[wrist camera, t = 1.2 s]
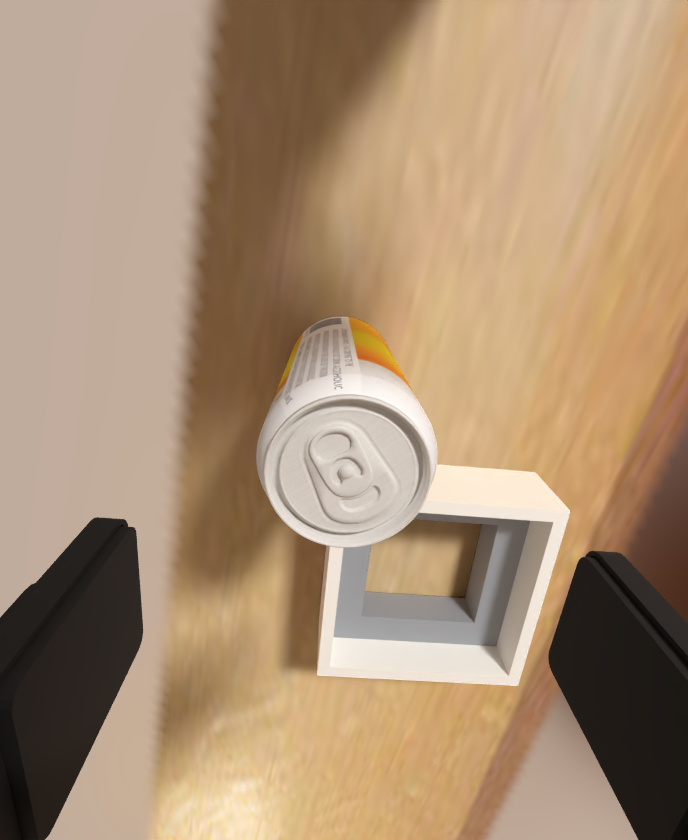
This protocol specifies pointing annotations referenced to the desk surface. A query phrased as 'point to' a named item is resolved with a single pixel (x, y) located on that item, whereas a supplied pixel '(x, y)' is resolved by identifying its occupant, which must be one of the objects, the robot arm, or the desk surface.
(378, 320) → the desk surface
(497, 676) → the socket box
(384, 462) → the beer can
